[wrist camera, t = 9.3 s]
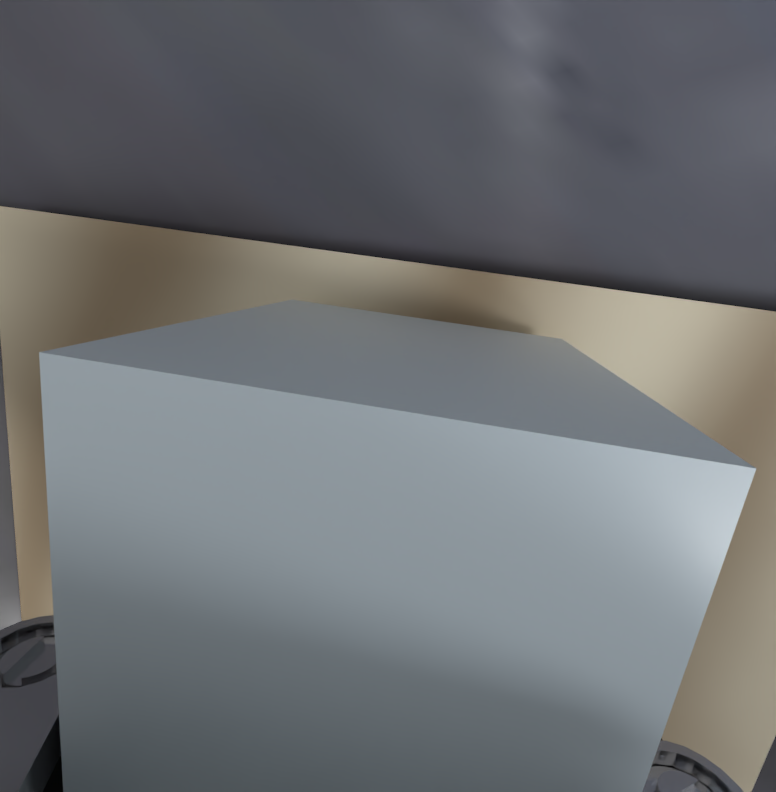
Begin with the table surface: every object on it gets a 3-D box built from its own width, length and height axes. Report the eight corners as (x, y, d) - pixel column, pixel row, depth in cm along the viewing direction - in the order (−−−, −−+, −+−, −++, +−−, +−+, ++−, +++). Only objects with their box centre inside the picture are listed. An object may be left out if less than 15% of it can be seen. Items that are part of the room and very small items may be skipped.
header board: (889, 326, 10) (1345, 390, 5) (706, 787, 13) (866, 1114, 8) (37, 210, 11) (-291, 166, 6) (59, 648, 14) (-146, 849, 10)
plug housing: (561, 338, 9) (756, 467, 3) (466, 763, 12) (479, 1252, 6) (292, 299, 9) (39, 352, 4) (259, 718, 12) (81, 1131, 6)
